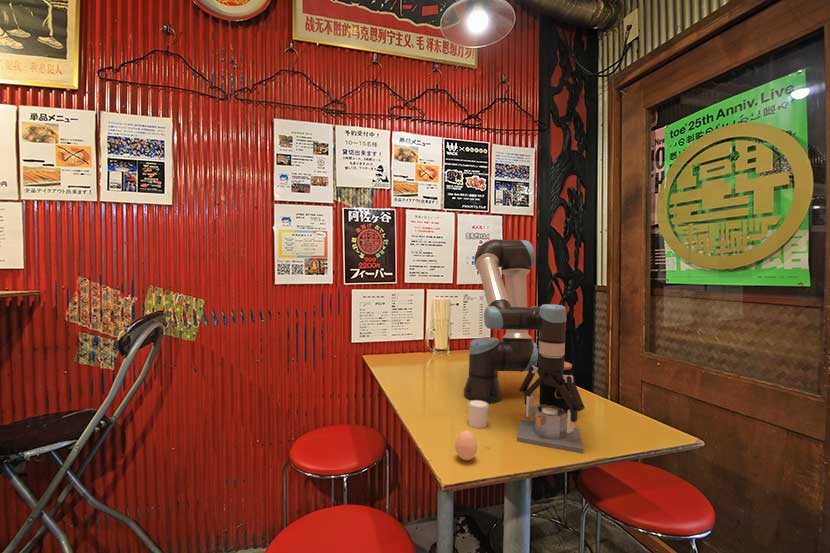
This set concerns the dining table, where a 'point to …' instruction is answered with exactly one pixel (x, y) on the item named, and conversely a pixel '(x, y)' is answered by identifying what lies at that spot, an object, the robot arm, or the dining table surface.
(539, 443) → the grey plate with knob
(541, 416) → the mug
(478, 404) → the tan cup
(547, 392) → the coffee jar
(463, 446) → the egg
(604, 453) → the dining table surface
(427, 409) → the dining table surface
